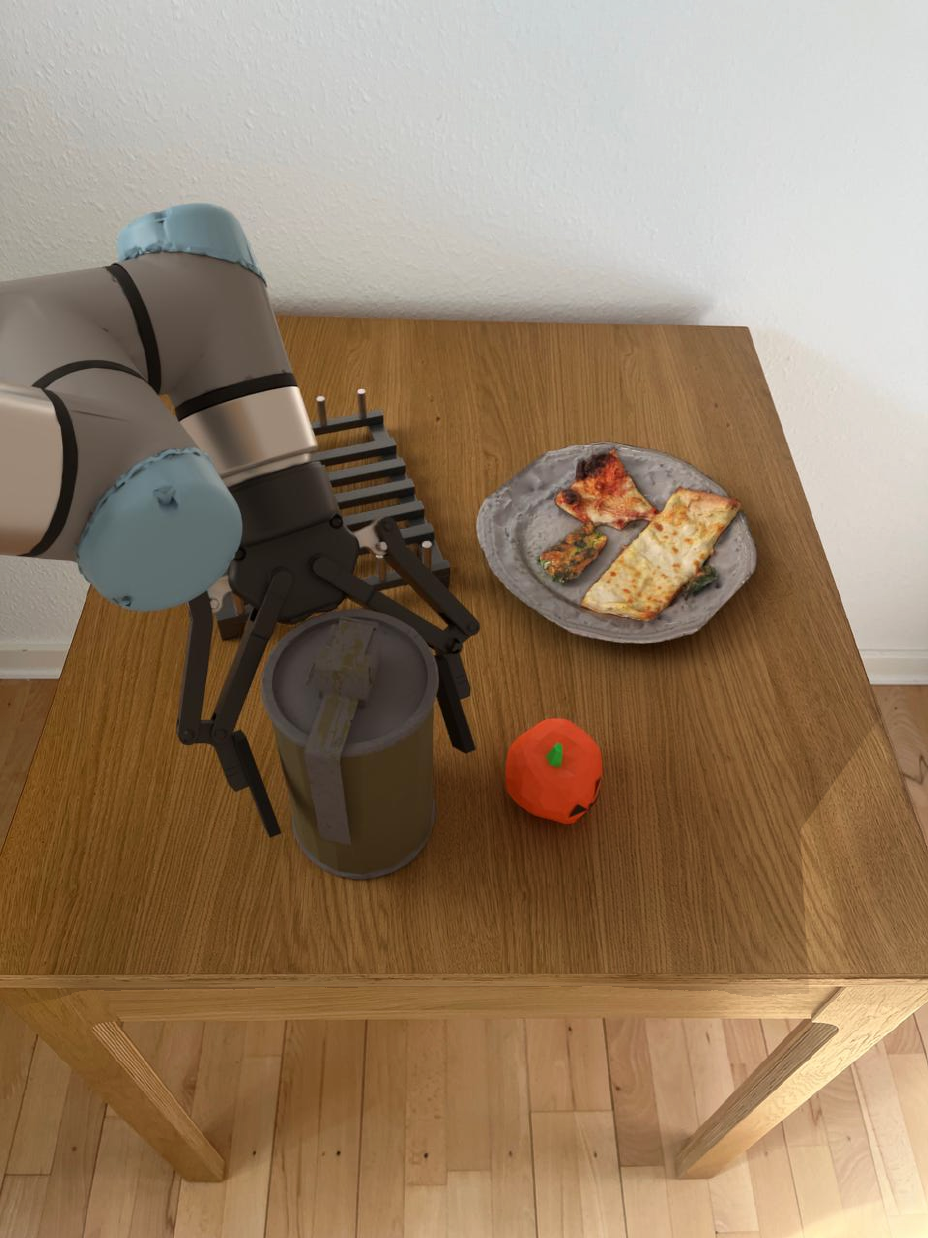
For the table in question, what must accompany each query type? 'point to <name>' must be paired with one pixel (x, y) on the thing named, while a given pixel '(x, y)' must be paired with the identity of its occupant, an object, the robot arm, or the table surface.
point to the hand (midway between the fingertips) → (371, 788)
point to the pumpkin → (554, 771)
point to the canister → (355, 739)
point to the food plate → (617, 542)
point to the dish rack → (363, 502)
